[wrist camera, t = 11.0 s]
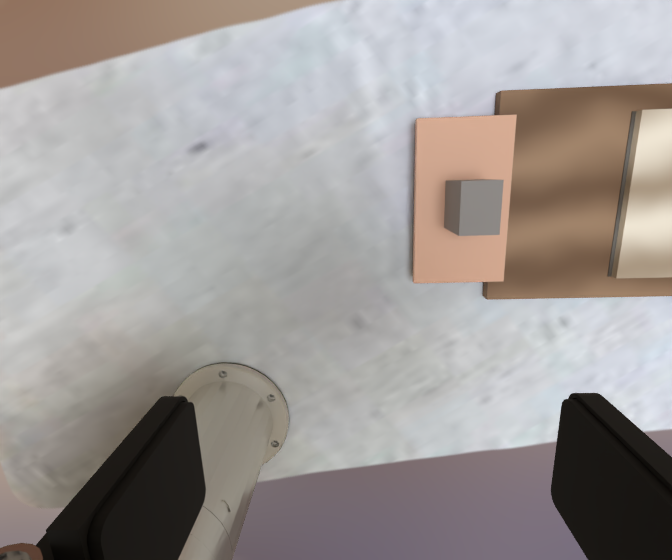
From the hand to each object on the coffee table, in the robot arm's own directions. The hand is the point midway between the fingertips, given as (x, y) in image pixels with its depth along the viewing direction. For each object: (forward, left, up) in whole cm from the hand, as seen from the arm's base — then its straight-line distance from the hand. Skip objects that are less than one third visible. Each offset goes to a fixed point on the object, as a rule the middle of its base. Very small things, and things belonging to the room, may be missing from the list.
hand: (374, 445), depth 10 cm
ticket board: (+4, -24, -28) cm, 37 cm away
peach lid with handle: (+4, -9, -27) cm, 29 cm away
